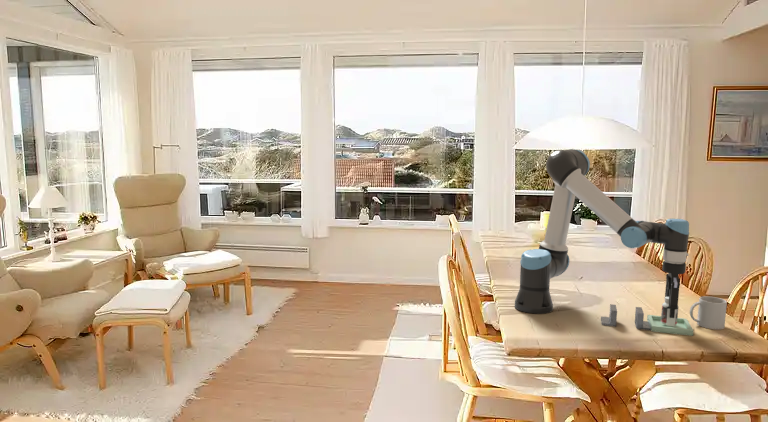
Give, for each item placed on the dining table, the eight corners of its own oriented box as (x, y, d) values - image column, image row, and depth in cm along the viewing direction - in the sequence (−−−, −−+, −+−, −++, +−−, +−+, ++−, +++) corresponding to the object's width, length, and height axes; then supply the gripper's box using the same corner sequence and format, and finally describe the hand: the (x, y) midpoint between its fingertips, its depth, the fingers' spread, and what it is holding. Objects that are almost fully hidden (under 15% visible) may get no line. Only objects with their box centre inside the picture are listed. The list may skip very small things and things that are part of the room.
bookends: (601, 325, 207) (602, 309, 206) (600, 318, 215) (601, 303, 214) (651, 330, 202) (653, 314, 201) (649, 323, 209) (650, 308, 208)
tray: (651, 331, 201) (651, 325, 201) (647, 319, 214) (647, 314, 213) (693, 335, 197) (693, 330, 197) (686, 323, 209) (686, 318, 209)
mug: (726, 325, 208) (729, 299, 207) (721, 331, 201) (723, 305, 200) (694, 318, 215) (696, 293, 214) (688, 324, 208) (690, 299, 207)
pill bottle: (657, 321, 208) (659, 295, 206) (671, 321, 208) (673, 295, 207) (666, 326, 202) (668, 300, 201) (680, 326, 203) (682, 300, 201)
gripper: (690, 268, 192) (685, 332, 195) (681, 257, 209) (676, 316, 213) (666, 266, 194) (661, 330, 198) (659, 255, 212) (654, 314, 215)
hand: (669, 322), depth 205 cm, fingers closed on pill bottle, 5 cm apart
